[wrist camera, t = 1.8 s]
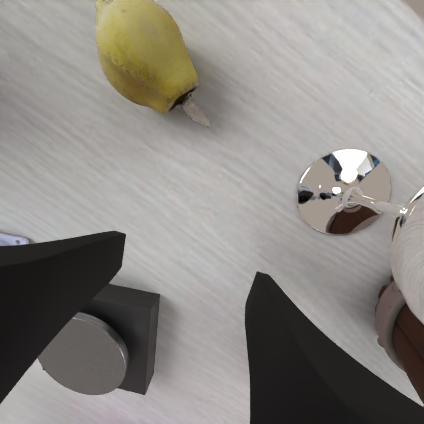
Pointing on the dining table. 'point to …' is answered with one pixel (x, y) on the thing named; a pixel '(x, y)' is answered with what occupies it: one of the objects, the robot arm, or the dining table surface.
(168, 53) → the fruit
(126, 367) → the scale pan
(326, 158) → the wineglass
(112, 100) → the dining table surface
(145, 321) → the scale
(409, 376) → the flowerpot
